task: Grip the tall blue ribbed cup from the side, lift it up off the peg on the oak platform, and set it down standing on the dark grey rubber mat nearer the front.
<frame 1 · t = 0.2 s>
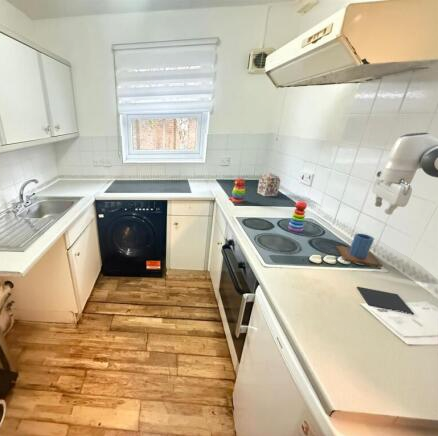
hand: (382, 209, 98), 25 cm above the worktop, tool pointing down, fingers open, 8 cm apart
blue ribbed cup: (357, 254, 107), point 3 cm above the worktop, touching platform
mat: (383, 300, 84), on the worktop
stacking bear: (237, 200, 186), on the worktop
stacking toy: (294, 233, 134), on the worktop
decorative jar: (266, 194, 201), on the worktop
platform: (355, 260, 108), on the worktop
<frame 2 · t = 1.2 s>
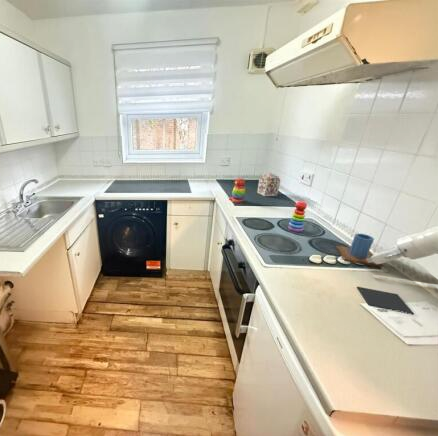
hand: (374, 257, 103), 4 cm above the worktop, tool tilted 40°, fingers open, 8 cm apart
nothing on the worktop moved.
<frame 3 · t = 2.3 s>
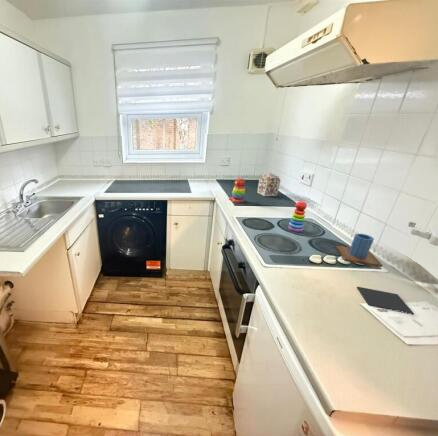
hand: (409, 227, 93), 20 cm above the worktop, tool horizontal, fingers open, 8 cm apart
nothing on the worktop moved.
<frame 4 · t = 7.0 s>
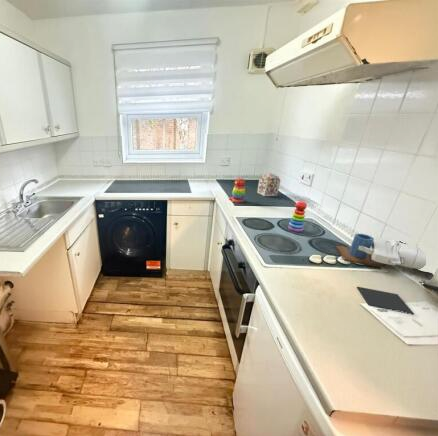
hand: (358, 244, 105), 8 cm above the worktop, tool horizontal, fingers closed on blue ribbed cup, 6 cm apart
blue ribbed cup: (357, 254, 107), point 3 cm above the worktop, touching gripper, platform
everything else where it was.
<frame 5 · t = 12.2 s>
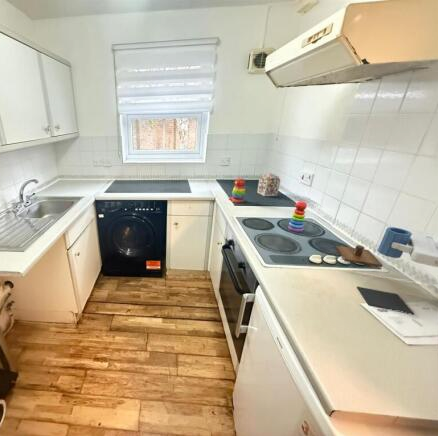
hand: (391, 240, 84), 20 cm above the worktop, tool horizontal, fingers closed on blue ribbed cup, 6 cm apart
blue ribbed cup: (388, 253, 85), point 15 cm above the worktop, touching gripper
everything else where it was.
when the fingers open (6 cm above the worktop, at t = 17.6 s): blue ribbed cup stays where it is, resting on mat.
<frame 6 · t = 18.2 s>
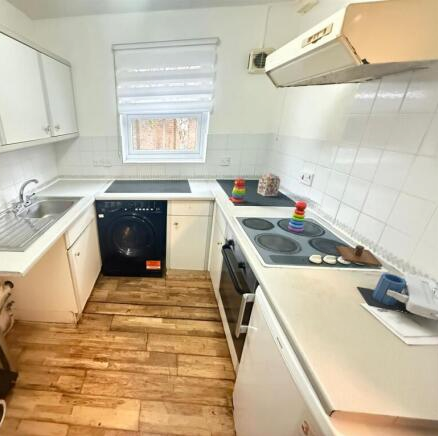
hand: (386, 284, 83), 6 cm above the worktop, tool horizontal, fingers open, 8 cm apart
blue ribbed cup: (383, 299, 84), resting on mat
everything else where it was.
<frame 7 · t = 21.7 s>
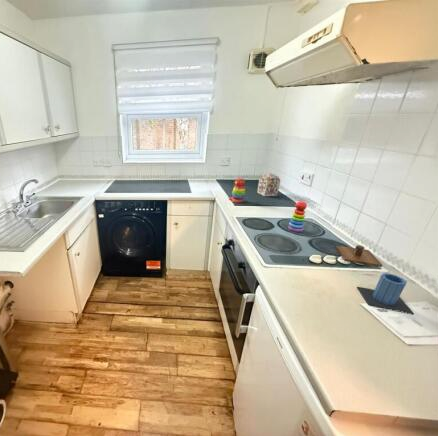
nothing on the worktop moved.
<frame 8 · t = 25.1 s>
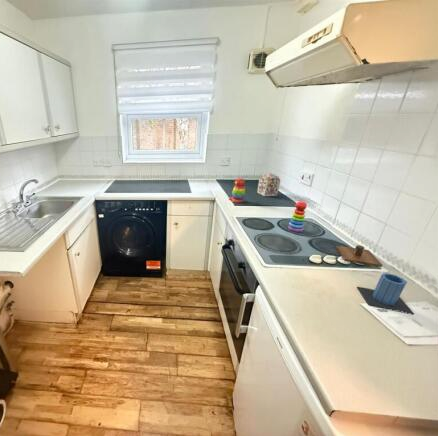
nothing on the worktop moved.
at the end: blue ribbed cup inside the target area on the mat (0.2 cm from its centre), point 0.5 cm above the mat's base; blue ribbed cup touching mat; blue ribbed cup tilted 0° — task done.
